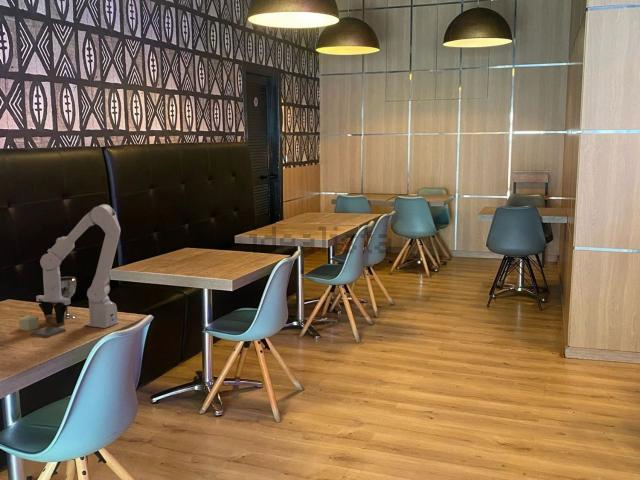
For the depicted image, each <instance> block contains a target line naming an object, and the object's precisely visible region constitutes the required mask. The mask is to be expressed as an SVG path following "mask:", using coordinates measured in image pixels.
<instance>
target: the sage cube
mask: <svg viewBox="0 0 640 480" xmlns="http://www.w3.org/2000/svg"><path fill="white" fill-rule="evenodd" d="M18 323H19V324H18V325H19V330H23V331H30V332H31V331H34V330H37V329H40V321H39V316H34V315H27V316H24V317H20V318H19V319H18Z"/></svg>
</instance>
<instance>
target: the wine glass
mask: <svg viewBox="0 0 640 480" xmlns="http://www.w3.org/2000/svg"><path fill="white" fill-rule="evenodd" d="M60 280H61V295H62V297H65V298H69V299H70V300H71V298H72V297H73V296H74V294H75V293H76V288H77V278H76V277H75V276H60ZM68 308H69V306H68V307H67V309H66V311H65V314H64V320H71V319H75V318H77V317H78V315H77V314H74V313H72V314H70V313H69V309H68Z"/></svg>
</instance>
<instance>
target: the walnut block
mask: <svg viewBox="0 0 640 480" xmlns="http://www.w3.org/2000/svg"><path fill="white" fill-rule="evenodd" d="M44 319H45V320H44V321H45V327H47V326H50V327H57V328H60V327H62V326H65V325H66V324H65V323H66V322H65V319H64V318H63V322H62V323H57V321H56V314H55V312H53V314H50V315H47V316H44Z"/></svg>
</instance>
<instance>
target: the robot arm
mask: <svg viewBox="0 0 640 480" xmlns="http://www.w3.org/2000/svg"><path fill="white" fill-rule="evenodd" d="M95 225H97V226H99V227H100V228H101V229H102V231H103V233H104V234H105V236H104V239H103V243H102V247H101V251H100V255H99V259H98V263H97V267H96V271H95V275H94V277H93V280H92V283H91V285H90V287H89V288H88V289H87V290H86V291H87V292H86V296H87V298H88V312H89V322H87V323H85V324H84V326H88V327H94V328H101V329H106V328H108V327H112V326H114V325H117V324H119V323H120V321H119V320H118V307H117V304H116V303H115V302H112V301H111V300H110V297H109V295H108V294H109V293H110V291H111V287H110V280H111V279H110V276H111V272H112V266H113V263H114V259H115V255H116V251H117V247H118V243H119V240H120V236H121V230H122V229H121V226H120V222H119V221H118V217H117V212H116V211H115V210H114V209H113V208H112V207H111V205H109V204H105V203H103V204H100V205H97V206H94V207H93V208H92V209H91V210H90V211H89V212H88V213H86V214H85V215H84V216H83V217H82V218H81V220H79V222H78V223H77V224H76V225H75V226H74V228H72V230H71V231H70V232H69V234H67V236H61V237H58V238H57V239H56V240H55V244H54V245H53V246H52V247H51V248H48V250H46V251H47V253H45V254H43V255H42V256H41V258H40V260H39V263H40V266H41V268H42V278H43V282H42V283H43V293H44V294H43V295H41V294H39V295H36V296H35V298H36V300H35V301H36V302H40V303H39V304H38V307H39V308H40V310H41V312H42V313H43V315H44V317H45V316H47V315H50V314H53V313H55V314H56V321H57V323H62V322H63V318H64V315H65V314H66V309H67V307H68V308H69V305H71V304H72V303H71V298H70V299H69V298H65V297H62V295H61V280H60V277H61V271H60V266H61V264H62V261H64V259H65V258H66V257H67V256H68V255H69V254H70V253H71V252H72V251H73V250H74V248H75V246H76V245H75V242H76V241H77V240H78V238H80V237H81V236H82V235H83V233H85V232H86V230H87V229H89V228H90V227H92V226H95ZM53 310H54V312H53Z"/></svg>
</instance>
